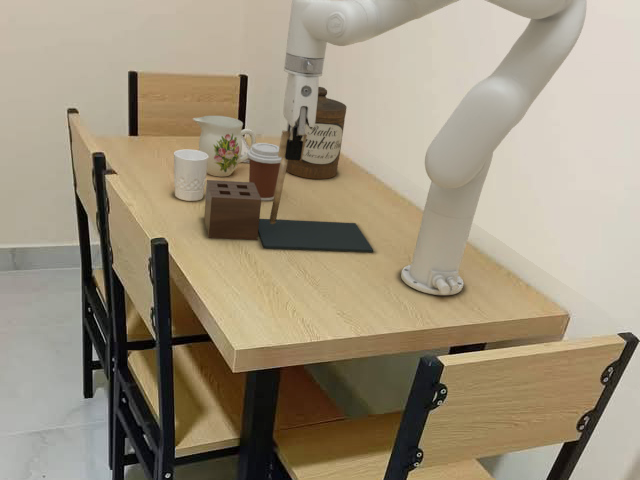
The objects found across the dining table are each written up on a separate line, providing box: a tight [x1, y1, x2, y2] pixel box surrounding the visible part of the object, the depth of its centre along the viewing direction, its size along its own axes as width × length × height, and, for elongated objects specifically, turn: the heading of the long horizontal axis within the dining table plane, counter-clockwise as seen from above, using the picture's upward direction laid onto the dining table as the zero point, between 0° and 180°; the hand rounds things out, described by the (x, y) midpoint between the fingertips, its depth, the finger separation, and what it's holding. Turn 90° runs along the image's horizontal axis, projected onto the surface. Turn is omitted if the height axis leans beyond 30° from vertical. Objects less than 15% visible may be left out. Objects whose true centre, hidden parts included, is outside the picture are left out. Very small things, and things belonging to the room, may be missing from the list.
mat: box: [258, 218, 374, 253], centre depth 163 cm, size 15×24×1 cm, turn 100°
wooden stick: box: [269, 130, 307, 224], centre depth 155 cm, size 1×5×20 cm, turn 100°
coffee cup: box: [247, 142, 282, 202], centre depth 178 cm, size 9×9×12 cm
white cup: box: [173, 148, 208, 202], centre depth 172 cm, size 8×8×10 cm
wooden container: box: [286, 86, 347, 180], centre depth 197 cm, size 15×15×22 cm
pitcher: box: [192, 115, 257, 177], centre depth 189 cm, size 11×18×14 cm, turn 119°
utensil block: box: [203, 179, 262, 241], centre depth 159 cm, size 10×10×9 cm
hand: (291, 157), depth 153 cm, fingers closed on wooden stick, 1 cm apart
